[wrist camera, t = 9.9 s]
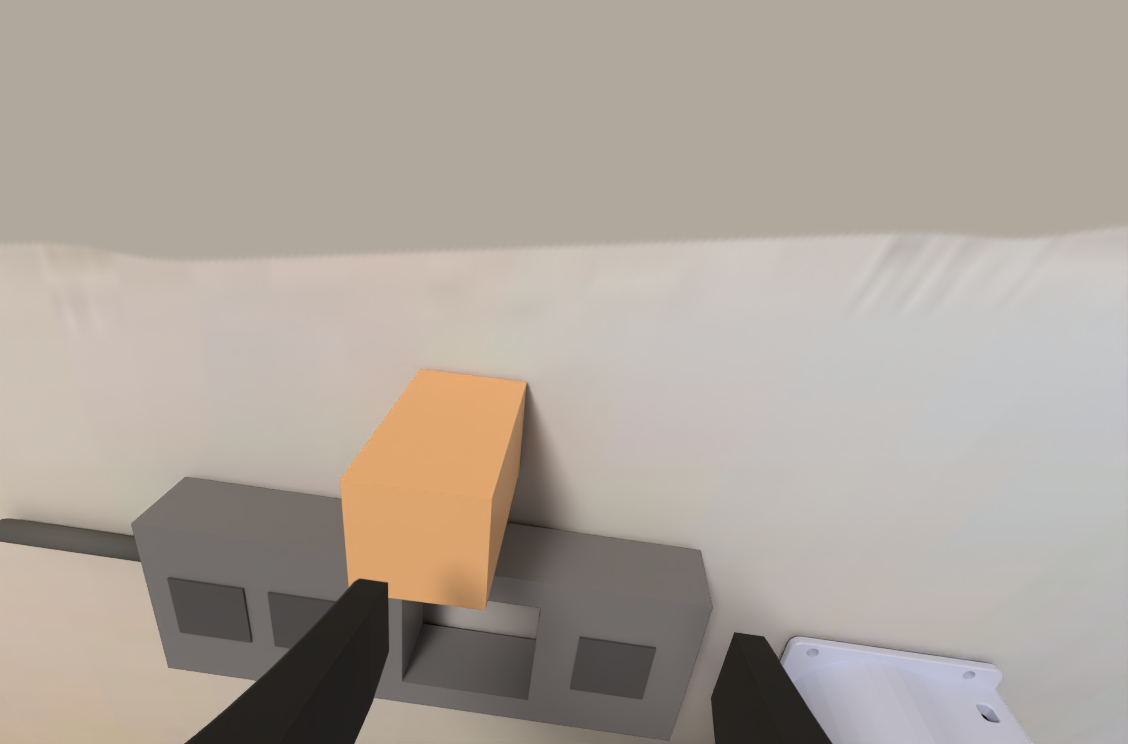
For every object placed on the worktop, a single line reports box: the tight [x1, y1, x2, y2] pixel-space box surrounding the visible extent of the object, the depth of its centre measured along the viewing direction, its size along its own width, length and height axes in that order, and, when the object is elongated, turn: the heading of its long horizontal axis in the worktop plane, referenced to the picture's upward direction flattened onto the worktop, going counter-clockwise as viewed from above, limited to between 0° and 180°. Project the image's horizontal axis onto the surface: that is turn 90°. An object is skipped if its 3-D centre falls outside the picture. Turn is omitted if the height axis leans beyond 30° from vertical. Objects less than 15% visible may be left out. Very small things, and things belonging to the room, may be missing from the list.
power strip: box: [0, 477, 713, 741], centre depth 24 cm, size 31×8×3 cm, turn 83°
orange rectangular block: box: [340, 369, 527, 610], centre depth 19 cm, size 4×4×7 cm
